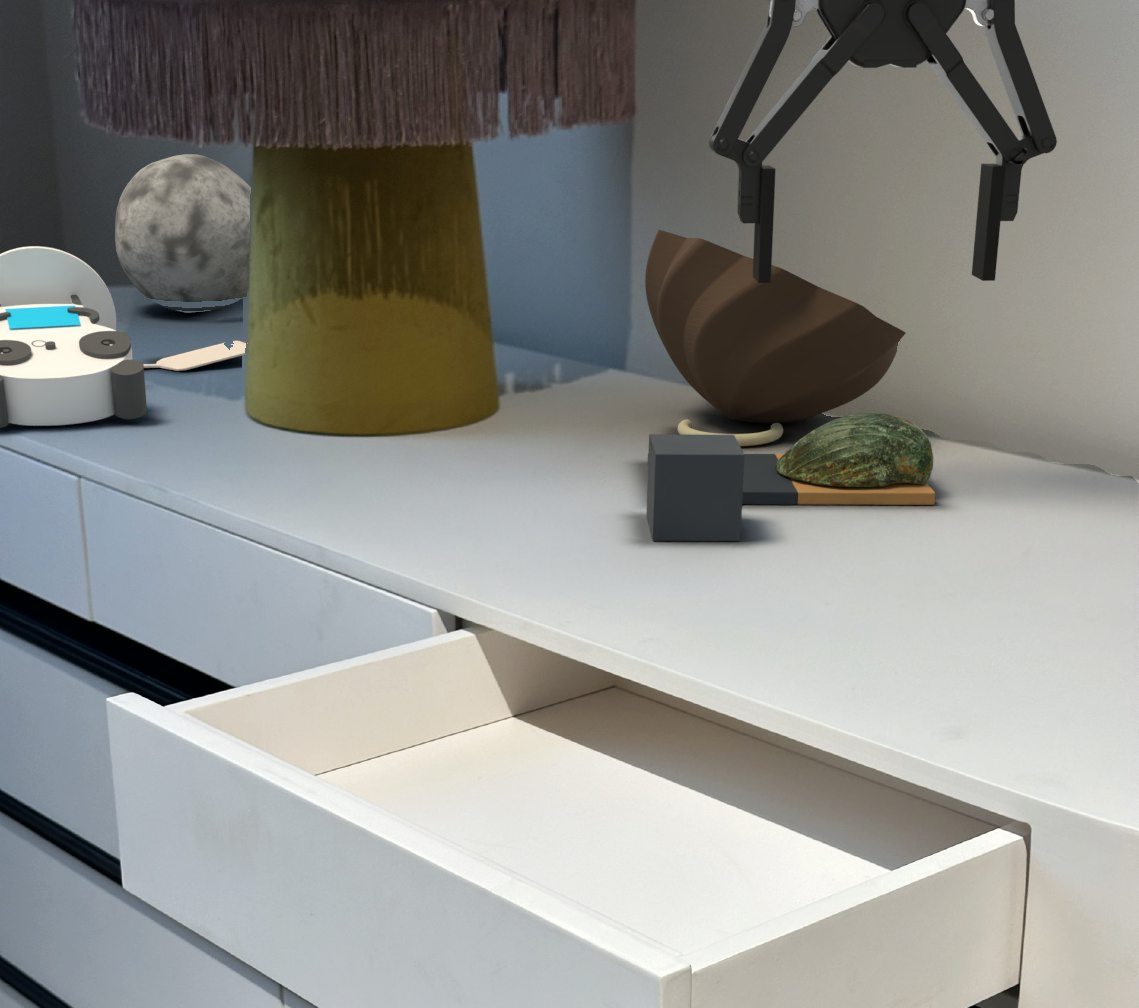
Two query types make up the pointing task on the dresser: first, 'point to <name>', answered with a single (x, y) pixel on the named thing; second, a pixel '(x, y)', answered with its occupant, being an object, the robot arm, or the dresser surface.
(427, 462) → the dresser surface
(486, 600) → the dresser surface
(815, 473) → the seashell
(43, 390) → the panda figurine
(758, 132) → the robot arm
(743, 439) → the handle
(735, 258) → the brown fluted bowl
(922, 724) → the dresser surface
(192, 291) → the moon lamp
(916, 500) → the sorting mat
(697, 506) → the slate block
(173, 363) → the spatula
